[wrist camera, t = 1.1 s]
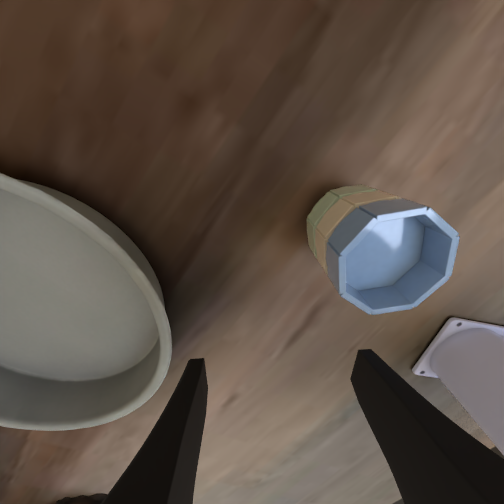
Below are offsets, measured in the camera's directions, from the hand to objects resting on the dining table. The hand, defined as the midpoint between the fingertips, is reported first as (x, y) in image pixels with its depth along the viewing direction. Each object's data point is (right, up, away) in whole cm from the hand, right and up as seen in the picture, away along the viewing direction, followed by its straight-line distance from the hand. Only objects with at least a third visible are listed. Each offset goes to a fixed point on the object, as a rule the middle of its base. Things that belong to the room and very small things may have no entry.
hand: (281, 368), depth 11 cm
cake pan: (-20, +1, +10) cm, 23 cm away
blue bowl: (+5, +6, +4) cm, 9 cm away
